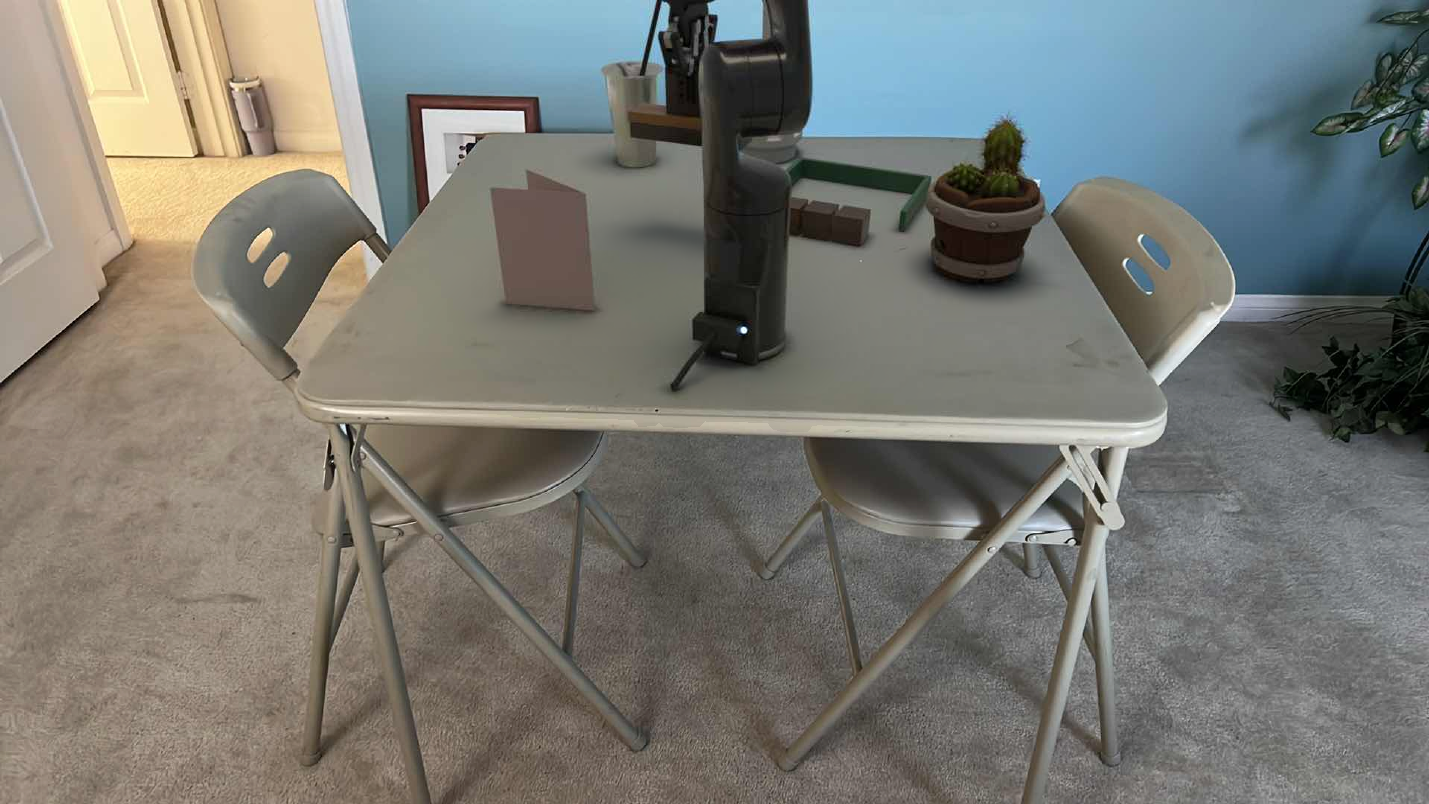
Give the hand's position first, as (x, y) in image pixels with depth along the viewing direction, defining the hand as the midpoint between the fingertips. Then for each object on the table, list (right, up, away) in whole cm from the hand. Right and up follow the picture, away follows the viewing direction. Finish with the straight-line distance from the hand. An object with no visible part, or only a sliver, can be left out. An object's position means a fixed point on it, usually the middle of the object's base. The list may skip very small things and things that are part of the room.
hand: (690, 101), depth 124 cm
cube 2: (+18, -16, +10) cm, 26 cm away
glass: (-10, +1, +36) cm, 37 cm away
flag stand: (+12, +3, +39) cm, 41 cm away
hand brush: (0, -4, +3) cm, 5 cm away
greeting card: (-18, -28, -8) cm, 34 cm away
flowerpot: (+38, -22, +1) cm, 44 cm away
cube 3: (+14, -15, +12) cm, 23 cm away
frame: (+24, -9, +20) cm, 32 cm away
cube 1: (+22, -17, +8) cm, 29 cm away
